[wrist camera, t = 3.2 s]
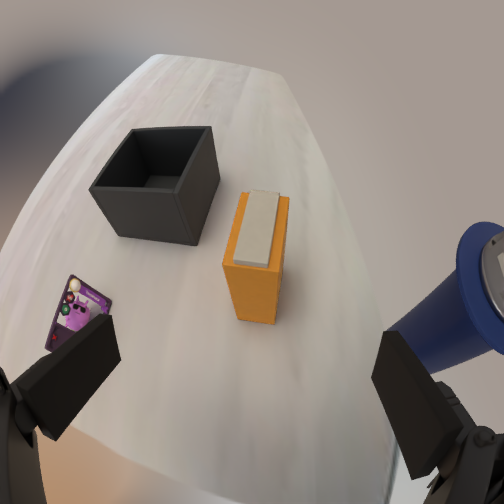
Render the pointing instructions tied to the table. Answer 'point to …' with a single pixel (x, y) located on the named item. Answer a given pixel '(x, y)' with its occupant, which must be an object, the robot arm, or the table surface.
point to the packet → (257, 255)
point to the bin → (160, 184)
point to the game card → (73, 312)
